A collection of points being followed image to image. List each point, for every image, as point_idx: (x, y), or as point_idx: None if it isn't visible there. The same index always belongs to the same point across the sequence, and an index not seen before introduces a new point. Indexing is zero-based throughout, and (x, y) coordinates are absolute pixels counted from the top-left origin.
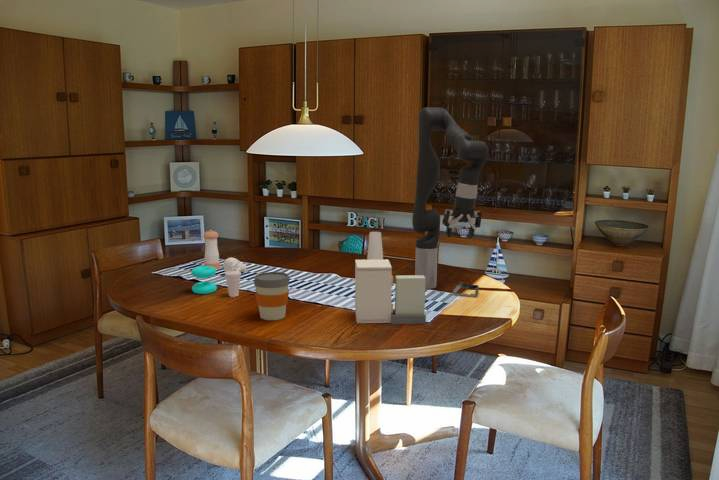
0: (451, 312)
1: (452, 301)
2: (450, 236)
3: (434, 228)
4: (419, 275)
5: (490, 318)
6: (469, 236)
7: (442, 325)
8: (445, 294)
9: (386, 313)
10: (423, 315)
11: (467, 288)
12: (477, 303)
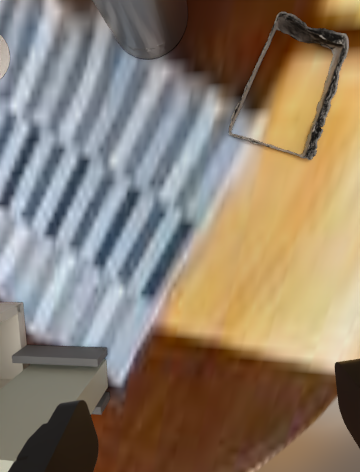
0: (190, 314)
1: (213, 206)
2: (93, 463)
3: None
4: (13, 462)
5: (291, 373)
6: (346, 405)
7: (149, 414)
8: (204, 123)
9: None
10: (94, 413)
11: (301, 40)
12: (290, 229)
